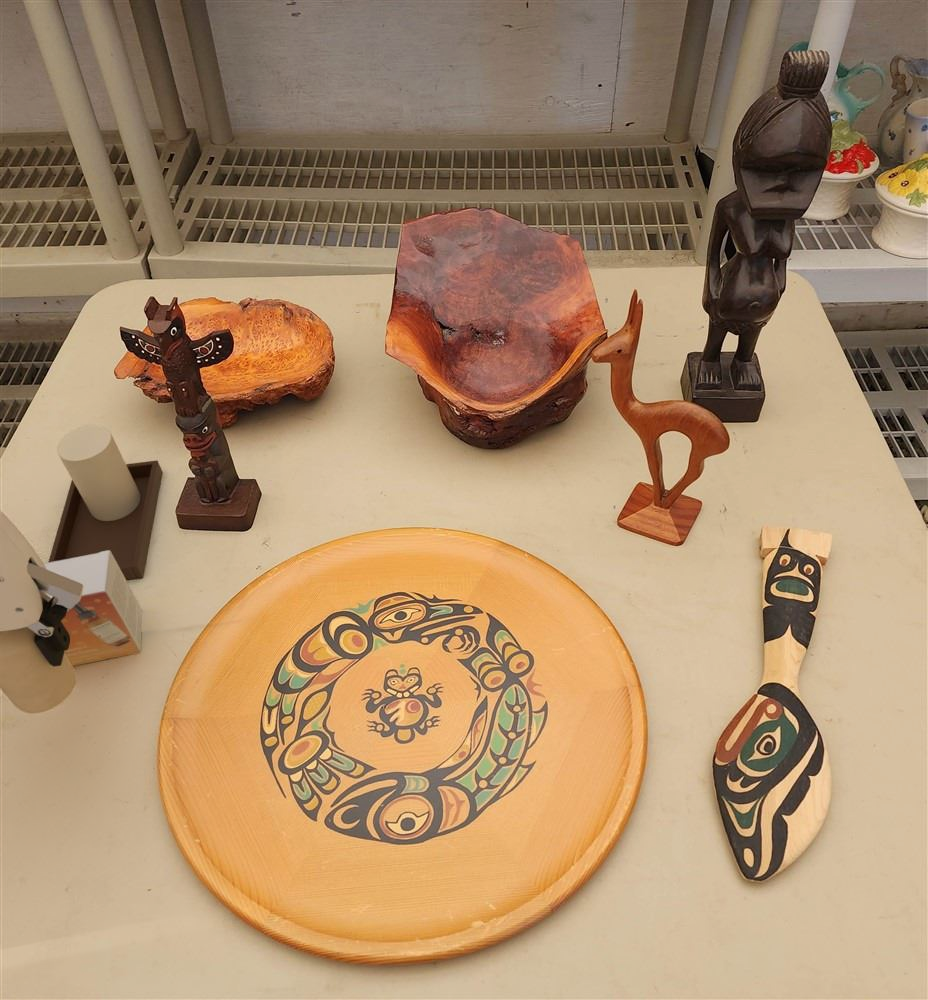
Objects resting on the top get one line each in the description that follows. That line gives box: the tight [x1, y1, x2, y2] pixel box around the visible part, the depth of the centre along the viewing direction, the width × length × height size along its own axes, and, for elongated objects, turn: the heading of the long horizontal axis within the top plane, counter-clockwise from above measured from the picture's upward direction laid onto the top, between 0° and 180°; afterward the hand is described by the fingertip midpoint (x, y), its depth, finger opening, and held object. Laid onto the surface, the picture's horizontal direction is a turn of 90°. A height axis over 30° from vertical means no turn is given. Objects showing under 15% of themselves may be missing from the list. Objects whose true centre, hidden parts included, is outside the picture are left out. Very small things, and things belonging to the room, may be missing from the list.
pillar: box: [56, 424, 140, 521], centre depth 101 cm, size 6×6×10 cm
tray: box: [47, 459, 164, 582], centre depth 101 cm, size 10×17×3 cm, turn 7°
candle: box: [0, 627, 77, 714], centre depth 72 cm, size 6×6×10 cm
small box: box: [43, 550, 143, 667], centre depth 87 cm, size 8×6×10 cm
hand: (21, 655), depth 72 cm, fingers closed on candle, 5 cm apart
